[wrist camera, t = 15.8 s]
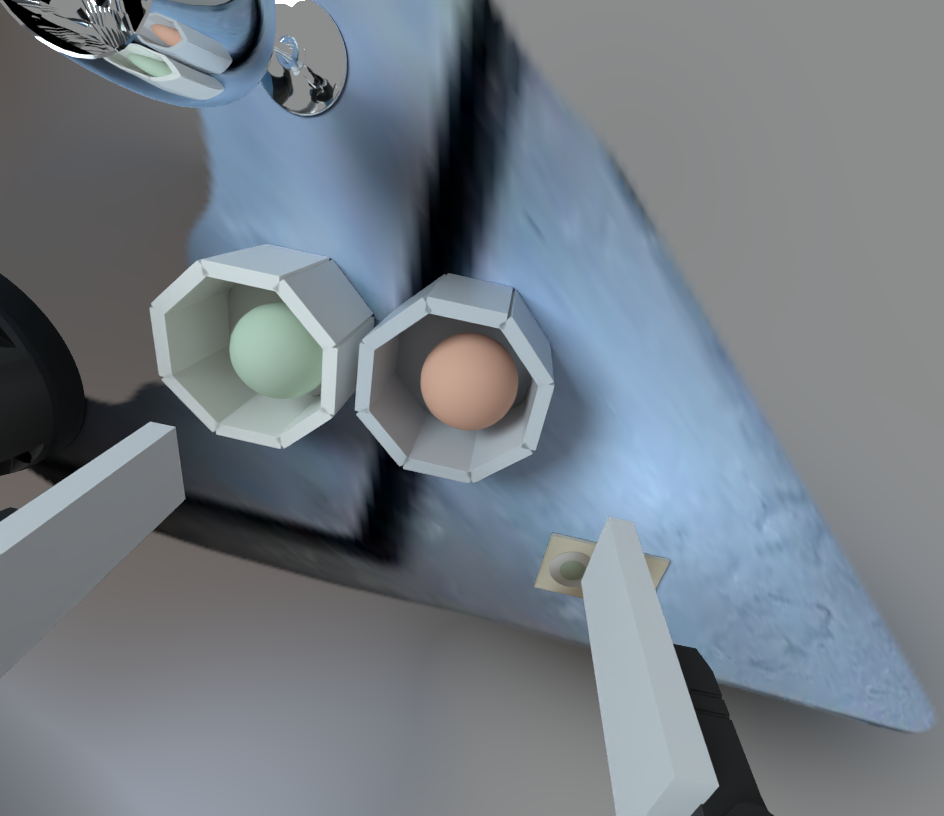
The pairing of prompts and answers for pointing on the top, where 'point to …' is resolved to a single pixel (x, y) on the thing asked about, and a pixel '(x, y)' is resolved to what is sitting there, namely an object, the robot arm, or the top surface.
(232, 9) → the wineglass
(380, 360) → the grey octagonal bowl
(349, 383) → the white octagonal bowl
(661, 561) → the card
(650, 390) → the top surface
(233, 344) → the sage ball
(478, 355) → the terracotta ball
